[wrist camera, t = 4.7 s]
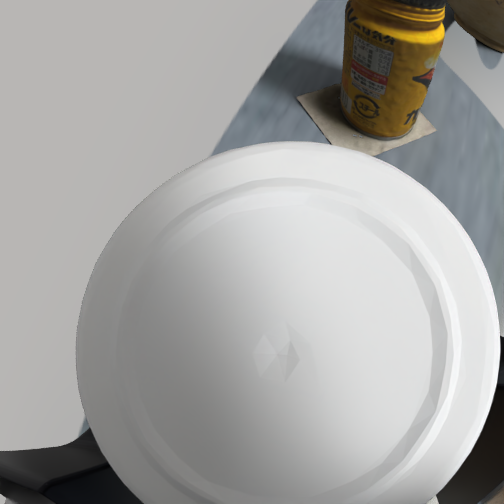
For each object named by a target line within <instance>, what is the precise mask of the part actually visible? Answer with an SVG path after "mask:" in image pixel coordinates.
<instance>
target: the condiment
mask: <svg viewBox="0 0 504 504" xmlns="http://www.w3.org/2000/svg"><path fill="white" fill-rule="evenodd" d="M446 3H447V0H349V1H348V2H347V5H346V9H345V35H344V54H343V69H342V83H340V84H334V85H332V86H330V87H327V88H323V89H321V90H318V91H314V92H310V93H306V94H304V95H301V96H298V97H297V99H298V100H299V101H300V103H301V104H302V106H303V107H304V108H305V109H306V111H307V112H308V113H309V115H310V116H311V117H312V119H313V120H314V122H315V123H316V124H317V125H318V127H319V128H320V129H321V131H322V132H323V133H324V135H325V137H326V138H327V139H328V140H329V141H330V142H331V144H332V145H334V146H339V147H343V148H347V149H351V150H355V151H359V152H362V153H365V154H368V155H370V156H375V155H377V154H380V153H382V152H384V151H388V150H390V149H393V148H395V147H398V146H401V145H404V144H406V143H408V142H411V141H413V140H416V139H419V138H421V137H423V136H426V135H428V134H431V133H433V132H435V131H437V130H436V129H435V128H434V127H433V125H432V124H431V123H430V122H429V121H428V120H427V119H426V118H425V117H424V115H423V114H421V113H420V109H421V107H422V104H423V102H424V99H425V97H426V94H427V91H428V90H427V89H428V87H429V84H430V82H431V80H432V76H433V72H434V70H435V66H436V63H437V60H438V57H439V54H440V51H441V48H442V45H443V40H444V37H445V30H444V26H443V24H442V21H443V19H444V16H445V14H444V13H445V6H446ZM338 97H340V98H338ZM353 134H355V135H357V137H356V136H353ZM359 135H361V136H362V138H361V137H359Z"/></svg>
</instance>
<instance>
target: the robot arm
mask: <svg viewBox="0 0 504 504" xmlns="http://www.w3.org/2000/svg"><path fill="white" fill-rule="evenodd" d="M0 494H2V495H3V496H4V497H6V501H5V504H144V503H143V502H142V501H141V500H140V499H138V498H137V497H136V496H135V494H134V493H133V492H132V491H131V490H130V489H129V488H128V487H127V486H126V485H125V484H124V483H123V482H122V480H121V479H120V478H119V477H118V475H117V474H116V473H115V471H114V470H113V468H112V467H111V465H110V464H109V462H108V461H107V459H106V458H105V456H104V455H103V453H102V452H101V450H100V448H99V445H98V443H97V441H96V439H95V437H94V435H93V433H92V430H91V428H89V429H88V430H87V431H86V432H85V433H83V434H82V435H81V436H80V437H79V438H77V439H76V440H74V441H73V442H71V443H68V444H66V445H63V446H58V447H50V448H41V449H31V450H18V451H0ZM436 497H437V499H438V502H439V504H504V337H502V336H500V361H499V370H498V378H497V385H496V389H495V393H494V396H493V400H492V404H491V407H490V410H489V413H488V416H487V418H486V421H485V424H484V426H483V429H482V431H481V433H480V435H479V437H478V439H477V441H476V443H475V445H474V446H473V448H472V450H471V452H470V453H469V455H468V456H467V458H466V459H465V461H464V462H463V463H462V465H461V466H460V468H459V469H458V470H457V472H456V473H455V474H454V476H453V477H452V478H451V479H450V480H449V482H448V483H447V484H446V485H445V486H444V487H443V488H442V489H441V490H440V491H439V492H438V493H437V494H436Z"/></svg>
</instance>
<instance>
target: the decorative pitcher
mask: <svg viewBox="0 0 504 504" xmlns="http://www.w3.org/2000/svg"><path fill="white" fill-rule="evenodd" d="M447 2H448V4H449V5H450V7H451V8H452V9H453V11H454V12H455V13H454V18H455V20H456V22H457V23H458V24H459V25H460V26H461V27H462V28H463V29H464V30H465V31H466V32H467V33H469V34H470V35H472V36H473V37H474V38H476V39H477V40H479V41H480V42H482V43H484V44H485V45H487V46H489V47H491V48H493V49H495V50H498V51H500V52H503V53H504V0H447Z"/></svg>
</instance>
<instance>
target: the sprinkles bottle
mask: <svg viewBox="0 0 504 504" xmlns="http://www.w3.org/2000/svg"><path fill="white" fill-rule="evenodd" d="M499 361H500V331H499V320H498V313H497V307H496V301H495V297H494V293H493V289H492V286H491V283H490V280H489V277H488V274H487V271H486V269H485V267H484V264H483V262H482V260H481V258H480V256H479V254H478V252H477V250H476V248H475V246H474V244H473V242H472V241H471V239H470V237H469V236H468V234H467V233H466V232H465V230H464V229H463V227H462V226H461V225H460V223H459V222H458V220H457V219H456V218H455V217H454V216H453V214H452V213H451V212H450V211H449V210H448V209H447V208H446V206H445V205H444V204H443V203H442V202H441V201H440V200H439V199H437V198H436V197H435V196H434V195H433V194H432V193H431V192H430V191H429V190H428V189H426V188H425V187H424V186H422V185H421V184H420V183H418V182H417V181H415V180H414V179H413V178H411V177H410V176H408V175H407V174H405V173H404V172H402V171H401V170H399V169H397V168H396V167H394V166H392V165H390V164H388V163H386V162H384V161H382V160H379V159H377V158H375V157H372V156H370V155H368V154H365V153H362V152H359V151H355V150H351V149H347V148H343V147H339V146H334V145H329V144H324V143H316V142H298V141H286V142H270V143H261V144H256V145H251V146H246V147H242V148H237V149H233V150H228V151H226V152H223V153H220V154H217V155H214V156H211V157H209V158H206V159H205V160H203V161H201V162H199V163H197V164H195V165H193V166H191V167H189V168H187V169H186V170H184V171H182V172H180V173H178V174H177V175H175V176H174V177H173V178H171V179H169V180H168V181H166V182H165V183H164V184H162V185H161V186H160V187H158V188H157V189H156V190H154V192H152V193H151V194H150V195H149V196H148V197H146V198H145V199H144V200H143V201H142V202H141V203H140V204H139V205H138V206H136V207H135V209H134V210H133V211H132V212H131V213H130V214H129V215H128V216H127V217H126V218H125V220H124V221H123V222H122V223H121V224H120V226H119V227H118V228H117V230H116V231H115V232H114V234H113V235H112V237H111V239H110V240H109V242H108V243H107V245H106V247H105V248H104V250H103V251H102V253H101V255H100V257H99V259H98V261H97V262H96V264H95V267H94V269H93V272H92V275H91V277H90V280H89V283H88V285H87V289H86V291H85V295H84V298H83V302H82V307H81V312H80V316H79V322H78V327H77V337H76V369H77V379H78V388H79V393H80V397H81V402H82V405H83V409H84V412H85V415H86V418H87V421H88V424H89V426H90V428H91V430H92V433H93V435H94V437H95V439H96V441H97V443H98V445H99V448H100V450H101V452H102V453H103V455H104V456H105V458H106V459H107V461H108V462H109V464H110V465H111V467H112V468H113V470H114V471H115V473H116V474H117V475H118V477H119V478H120V479H121V480H122V482H123V483H124V484H125V485H126V486H127V487H128V488H129V489H130V490H131V491H132V492H133V493H134V494H135V496H136V497H137V498H138V499H140V500H141V501H142V502H143V503H144V504H426V503H427V502H429V501H430V500H431V499H432V498H433V497H434V496H435V495H436V494H437V493H438V492H439V491H440V490H441V489H442V488H443V487H444V486H445V485H446V484H447V483H448V482H449V480H450V479H451V478H452V477H453V476H454V474H455V473H456V472H457V470H458V469H459V468H460V466H461V465H462V463H463V462H464V461H465V459H466V458H467V456H468V455H469V453H470V452H471V450H472V448H473V446H474V445H475V443H476V441H477V439H478V437H479V435H480V433H481V431H482V429H483V426H484V424H485V421H486V418H487V416H488V413H489V410H490V407H491V404H492V400H493V396H494V393H495V389H496V385H497V378H498V370H499Z"/></svg>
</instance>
